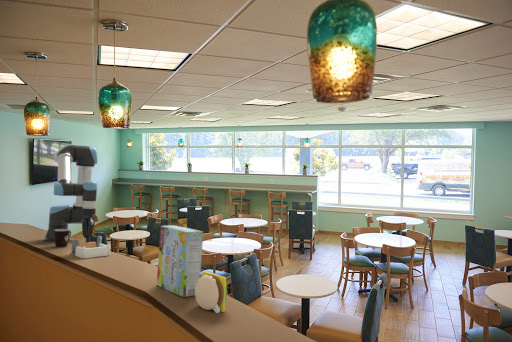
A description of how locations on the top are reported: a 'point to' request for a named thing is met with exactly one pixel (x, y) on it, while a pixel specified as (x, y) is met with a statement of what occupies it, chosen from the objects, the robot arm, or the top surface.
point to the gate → (82, 245)
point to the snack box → (179, 259)
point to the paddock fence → (93, 250)
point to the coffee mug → (61, 237)
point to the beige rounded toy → (211, 292)
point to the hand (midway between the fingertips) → (86, 248)
